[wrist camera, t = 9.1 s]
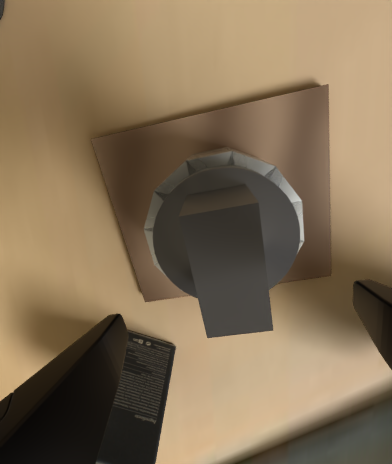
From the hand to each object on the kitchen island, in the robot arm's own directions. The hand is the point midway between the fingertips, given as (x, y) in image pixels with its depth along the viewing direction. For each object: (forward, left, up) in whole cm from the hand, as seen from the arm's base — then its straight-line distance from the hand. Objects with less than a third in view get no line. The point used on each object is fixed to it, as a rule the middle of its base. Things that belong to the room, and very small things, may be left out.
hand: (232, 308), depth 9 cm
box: (+11, +15, -12) cm, 22 cm away
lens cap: (0, 0, -10) cm, 10 cm away
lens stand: (0, 0, -12) cm, 12 cm away
